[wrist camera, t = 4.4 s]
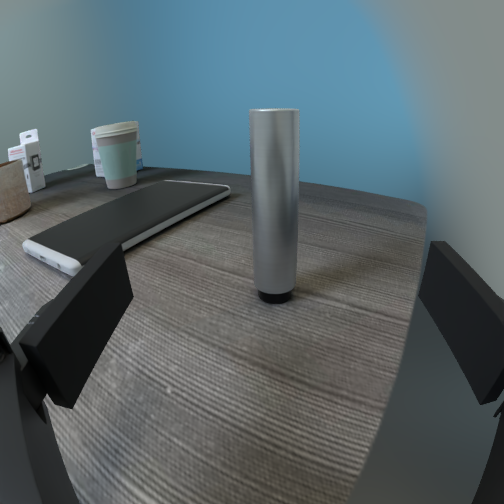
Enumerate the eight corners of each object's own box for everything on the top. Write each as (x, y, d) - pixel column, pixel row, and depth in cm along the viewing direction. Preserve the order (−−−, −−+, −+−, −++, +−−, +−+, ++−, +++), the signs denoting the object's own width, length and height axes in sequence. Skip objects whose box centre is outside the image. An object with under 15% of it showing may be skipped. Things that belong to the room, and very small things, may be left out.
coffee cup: (149, 178, 61) (144, 119, 56) (133, 189, 54) (125, 122, 48) (112, 181, 62) (106, 125, 56) (93, 192, 54) (84, 130, 49)
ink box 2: (143, 169, 71) (139, 120, 66) (115, 178, 64) (109, 125, 59) (122, 168, 75) (117, 123, 70) (95, 176, 68) (89, 128, 63)
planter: (-14, 232, 39) (-27, 177, 35) (-20, 221, 45) (-30, 175, 41) (38, 210, 47) (28, 157, 43) (24, 203, 53) (16, 158, 49)
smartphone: (23, 254, 31) (19, 241, 30) (165, 188, 52) (164, 178, 52) (77, 283, 25) (72, 266, 25) (233, 196, 47) (232, 184, 46)
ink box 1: (14, 194, 63) (5, 137, 56) (27, 188, 67) (19, 133, 60) (32, 193, 61) (22, 131, 54) (46, 186, 65) (38, 127, 58)
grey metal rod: (295, 284, 25) (299, 108, 19) (294, 307, 22) (298, 109, 16) (257, 282, 25) (253, 108, 20) (251, 305, 23) (245, 109, 17)
